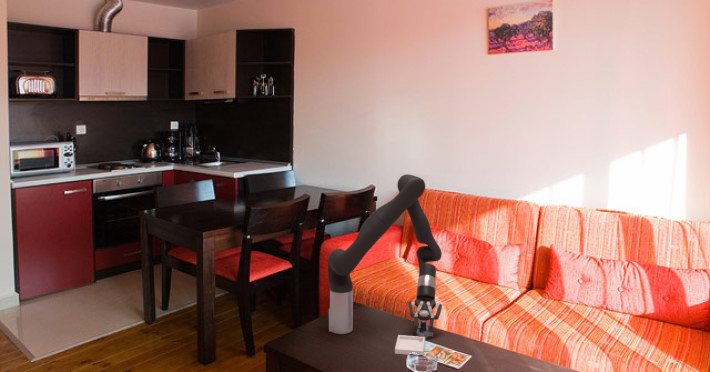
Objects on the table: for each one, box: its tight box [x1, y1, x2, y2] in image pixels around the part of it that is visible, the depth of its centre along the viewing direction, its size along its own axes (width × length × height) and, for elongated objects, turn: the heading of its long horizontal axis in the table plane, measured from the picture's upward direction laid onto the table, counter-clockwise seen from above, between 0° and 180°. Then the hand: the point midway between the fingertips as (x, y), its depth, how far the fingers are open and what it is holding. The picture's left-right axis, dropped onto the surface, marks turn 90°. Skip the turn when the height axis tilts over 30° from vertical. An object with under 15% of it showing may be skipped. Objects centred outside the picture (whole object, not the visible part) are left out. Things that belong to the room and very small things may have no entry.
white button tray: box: [394, 334, 426, 356], centre depth 204 cm, size 10×12×2 cm
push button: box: [416, 310, 434, 338], centre depth 213 cm, size 7×5×10 cm
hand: (423, 327), depth 211 cm, fingers closed on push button, 5 cm apart
